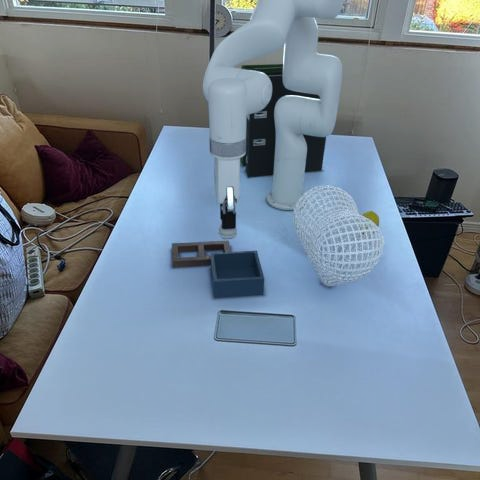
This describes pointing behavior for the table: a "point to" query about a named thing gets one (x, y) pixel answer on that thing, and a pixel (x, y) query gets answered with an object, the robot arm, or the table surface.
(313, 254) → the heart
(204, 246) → the stand
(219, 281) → the blue open box
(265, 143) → the binder
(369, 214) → the lemon
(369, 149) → the table surface
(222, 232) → the rook chess piece
